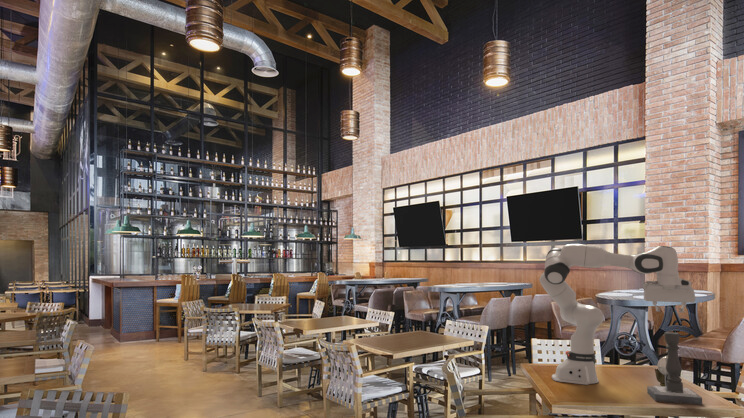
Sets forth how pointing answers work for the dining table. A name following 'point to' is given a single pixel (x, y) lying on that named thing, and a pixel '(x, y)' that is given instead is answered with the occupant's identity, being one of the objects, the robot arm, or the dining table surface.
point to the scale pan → (663, 391)
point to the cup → (660, 377)
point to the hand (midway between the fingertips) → (669, 311)
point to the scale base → (666, 398)
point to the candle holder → (673, 363)
